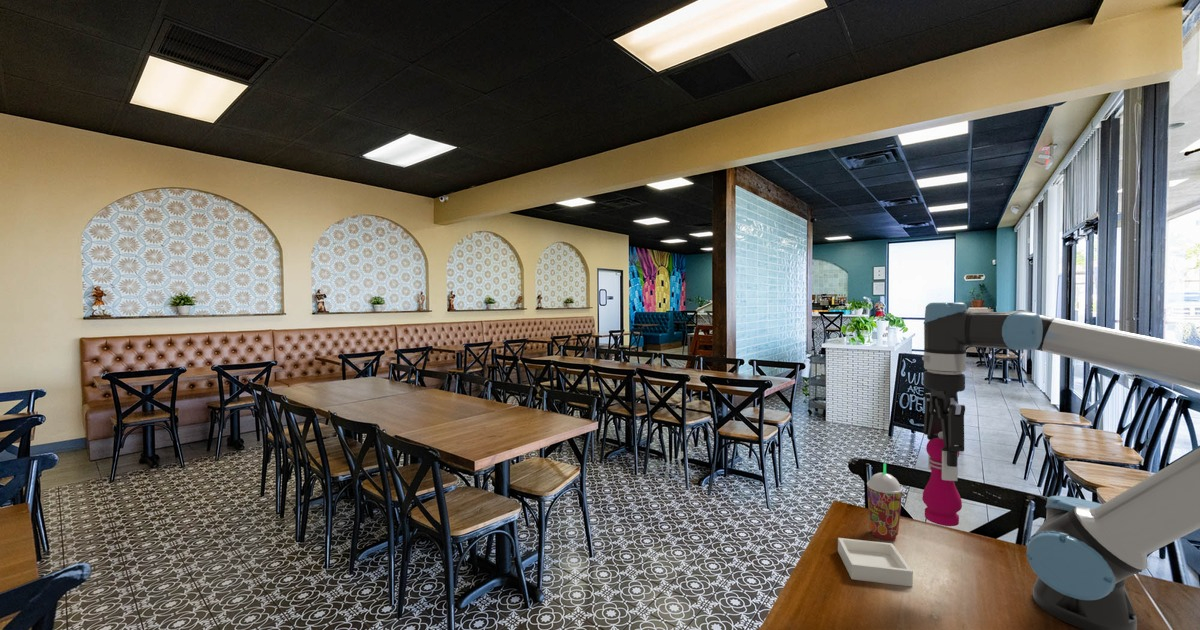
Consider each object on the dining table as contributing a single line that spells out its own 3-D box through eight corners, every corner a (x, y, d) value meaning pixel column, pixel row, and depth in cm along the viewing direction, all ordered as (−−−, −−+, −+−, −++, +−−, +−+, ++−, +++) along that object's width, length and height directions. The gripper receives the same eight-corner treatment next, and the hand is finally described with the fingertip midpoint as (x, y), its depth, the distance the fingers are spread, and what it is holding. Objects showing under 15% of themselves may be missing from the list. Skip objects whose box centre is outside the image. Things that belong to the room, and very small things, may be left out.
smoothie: (859, 529, 134) (860, 459, 133) (885, 526, 136) (886, 457, 135) (881, 544, 126) (883, 470, 125) (909, 541, 127) (910, 467, 127)
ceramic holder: (892, 557, 120) (892, 543, 120) (912, 586, 108) (912, 571, 107) (837, 551, 123) (838, 537, 123) (851, 579, 110) (851, 564, 110)
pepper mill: (968, 529, 102) (970, 437, 102) (931, 526, 104) (932, 435, 103) (951, 514, 110) (952, 428, 109) (916, 511, 111) (917, 426, 110)
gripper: (908, 365, 116) (906, 459, 116) (944, 378, 97) (943, 489, 98) (943, 366, 114) (941, 461, 115) (987, 379, 96) (985, 492, 96)
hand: (942, 474), depth 106 cm, fingers closed on pepper mill, 6 cm apart
